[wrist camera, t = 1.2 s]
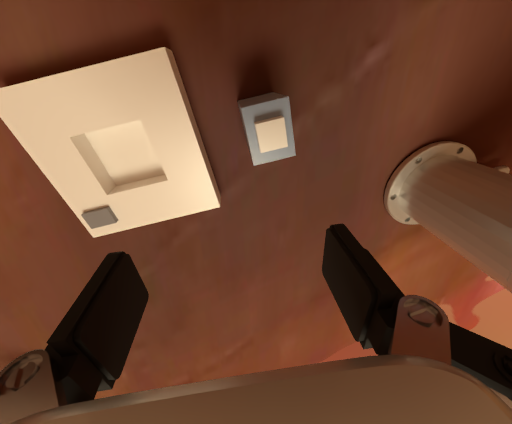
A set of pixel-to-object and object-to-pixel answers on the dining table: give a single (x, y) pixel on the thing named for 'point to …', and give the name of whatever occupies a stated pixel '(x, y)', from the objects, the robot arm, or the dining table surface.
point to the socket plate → (115, 141)
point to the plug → (267, 127)
